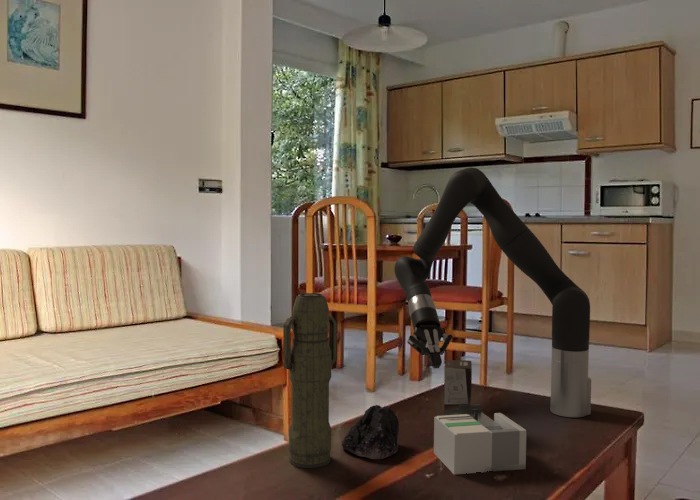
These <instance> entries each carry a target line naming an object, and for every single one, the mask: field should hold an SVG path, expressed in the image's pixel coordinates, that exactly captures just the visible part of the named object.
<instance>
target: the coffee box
mask: <svg viewBox="0 0 700 500" xmlns="http://www.w3.org/2000/svg"><path fill="white" fill-rule="evenodd" d="M472 367H473V366H472V360H463V359H462V360H461V359H460V360H459V359H455V360H454V359H453V360H452V359H447V360H446V361H445V365H444V383H443V385H444V386H443V387H444V390H443V391H444V394H443V395H444V396H443V411H448V410H459V405H472V390H473V389H472V381H473V378H472V376H473V375H472V374H473V372H472V371H473V370H472V369H473V368H472ZM445 415H459V413H451V414H443V416H445Z"/></svg>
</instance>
